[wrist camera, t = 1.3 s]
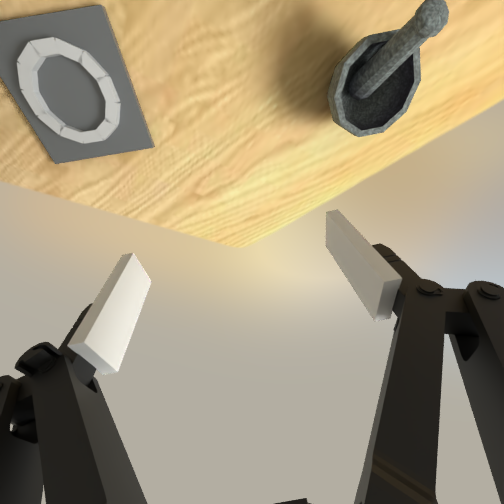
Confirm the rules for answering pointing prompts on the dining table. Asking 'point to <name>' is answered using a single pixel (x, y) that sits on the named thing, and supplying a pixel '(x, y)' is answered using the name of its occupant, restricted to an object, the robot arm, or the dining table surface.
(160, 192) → the dining table surface
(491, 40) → the dining table surface
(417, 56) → the mortar and pestle
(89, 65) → the holder
